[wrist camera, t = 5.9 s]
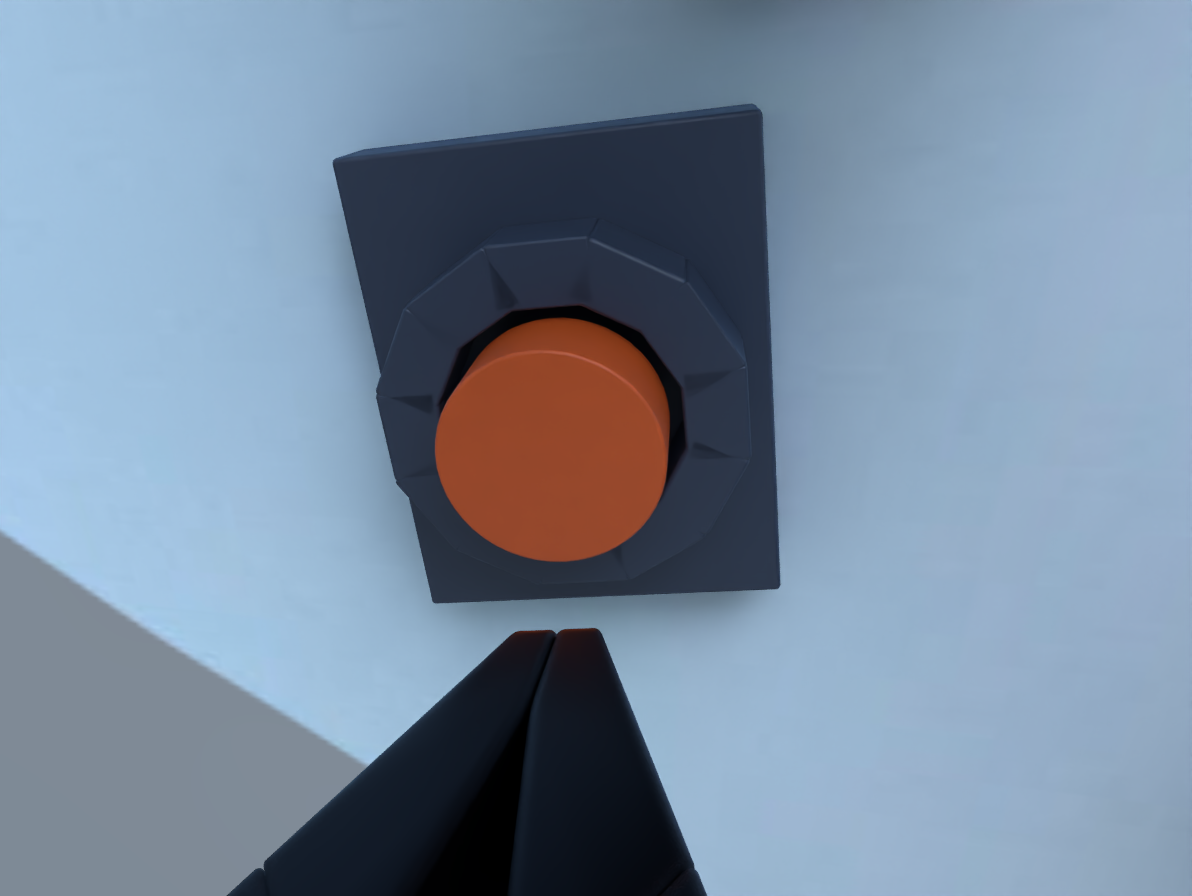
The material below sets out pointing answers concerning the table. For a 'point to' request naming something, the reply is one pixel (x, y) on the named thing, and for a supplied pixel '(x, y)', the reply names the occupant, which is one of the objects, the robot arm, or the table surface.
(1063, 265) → the table surface
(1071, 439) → the table surface
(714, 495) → the control box
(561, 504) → the button
